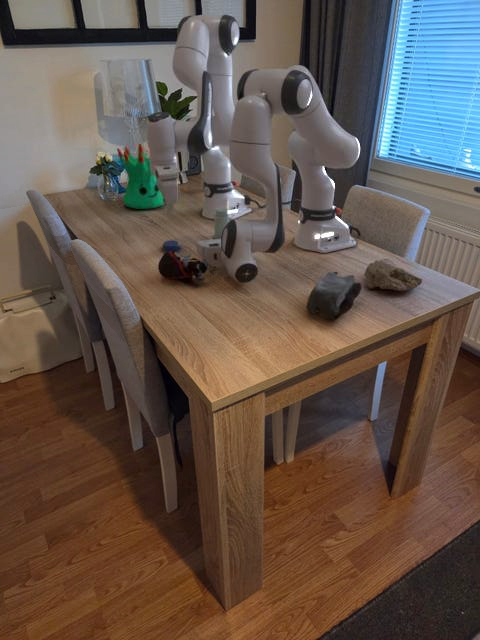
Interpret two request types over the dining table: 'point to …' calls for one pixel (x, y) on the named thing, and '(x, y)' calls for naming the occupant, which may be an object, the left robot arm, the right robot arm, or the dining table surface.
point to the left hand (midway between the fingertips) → (168, 208)
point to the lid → (170, 246)
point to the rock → (333, 295)
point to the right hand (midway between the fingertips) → (221, 237)
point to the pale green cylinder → (220, 221)
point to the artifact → (389, 276)
